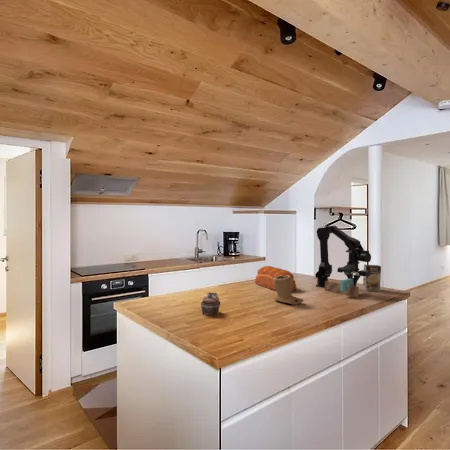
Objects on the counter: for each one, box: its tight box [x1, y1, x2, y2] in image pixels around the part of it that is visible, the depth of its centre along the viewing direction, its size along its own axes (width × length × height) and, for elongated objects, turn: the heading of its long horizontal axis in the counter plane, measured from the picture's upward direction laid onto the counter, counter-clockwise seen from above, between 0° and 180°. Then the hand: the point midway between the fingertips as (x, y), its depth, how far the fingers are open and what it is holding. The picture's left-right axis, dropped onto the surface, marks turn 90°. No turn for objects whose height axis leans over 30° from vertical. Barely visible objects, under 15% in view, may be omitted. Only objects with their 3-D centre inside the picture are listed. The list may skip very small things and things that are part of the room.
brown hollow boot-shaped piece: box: [273, 275, 304, 306], centre depth 192 cm, size 15×12×15 cm
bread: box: [254, 265, 297, 292], centre depth 232 cm, size 16×31×13 cm, turn 28°
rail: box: [324, 280, 359, 298], centre depth 214 cm, size 22×2×6 cm, turn 39°
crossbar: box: [339, 277, 358, 291], centre depth 210 cm, size 15×2×6 cm, turn 129°
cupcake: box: [200, 292, 221, 316], centre depth 171 cm, size 10×10×10 cm
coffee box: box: [362, 264, 382, 292], centre depth 224 cm, size 9×6×16 cm
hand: (352, 285), depth 213 cm, fingers closed on crossbar, 2 cm apart
